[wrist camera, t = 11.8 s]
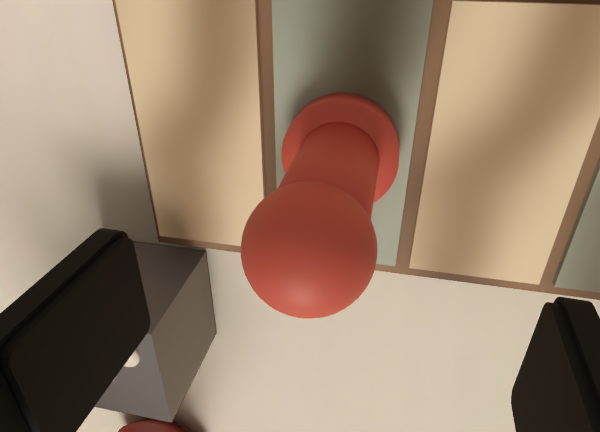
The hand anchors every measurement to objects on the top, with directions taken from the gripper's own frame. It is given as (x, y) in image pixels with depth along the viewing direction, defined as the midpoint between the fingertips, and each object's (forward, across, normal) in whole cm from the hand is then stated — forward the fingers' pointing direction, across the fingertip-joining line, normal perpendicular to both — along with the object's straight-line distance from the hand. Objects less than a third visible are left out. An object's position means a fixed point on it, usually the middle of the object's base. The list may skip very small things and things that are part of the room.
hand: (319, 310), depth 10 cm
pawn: (+9, +1, 0) cm, 9 cm away
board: (+10, -5, 0) cm, 12 cm away
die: (+10, +11, +10) cm, 18 cm away
